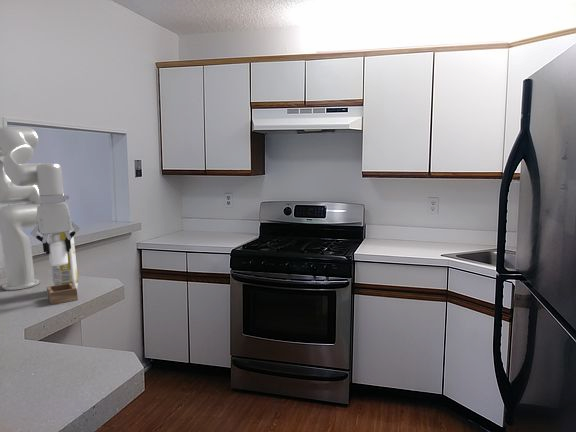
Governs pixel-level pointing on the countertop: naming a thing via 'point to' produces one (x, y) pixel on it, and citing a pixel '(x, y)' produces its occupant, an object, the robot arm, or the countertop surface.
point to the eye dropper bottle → (57, 251)
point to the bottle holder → (62, 293)
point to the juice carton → (66, 266)
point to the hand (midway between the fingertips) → (57, 252)
